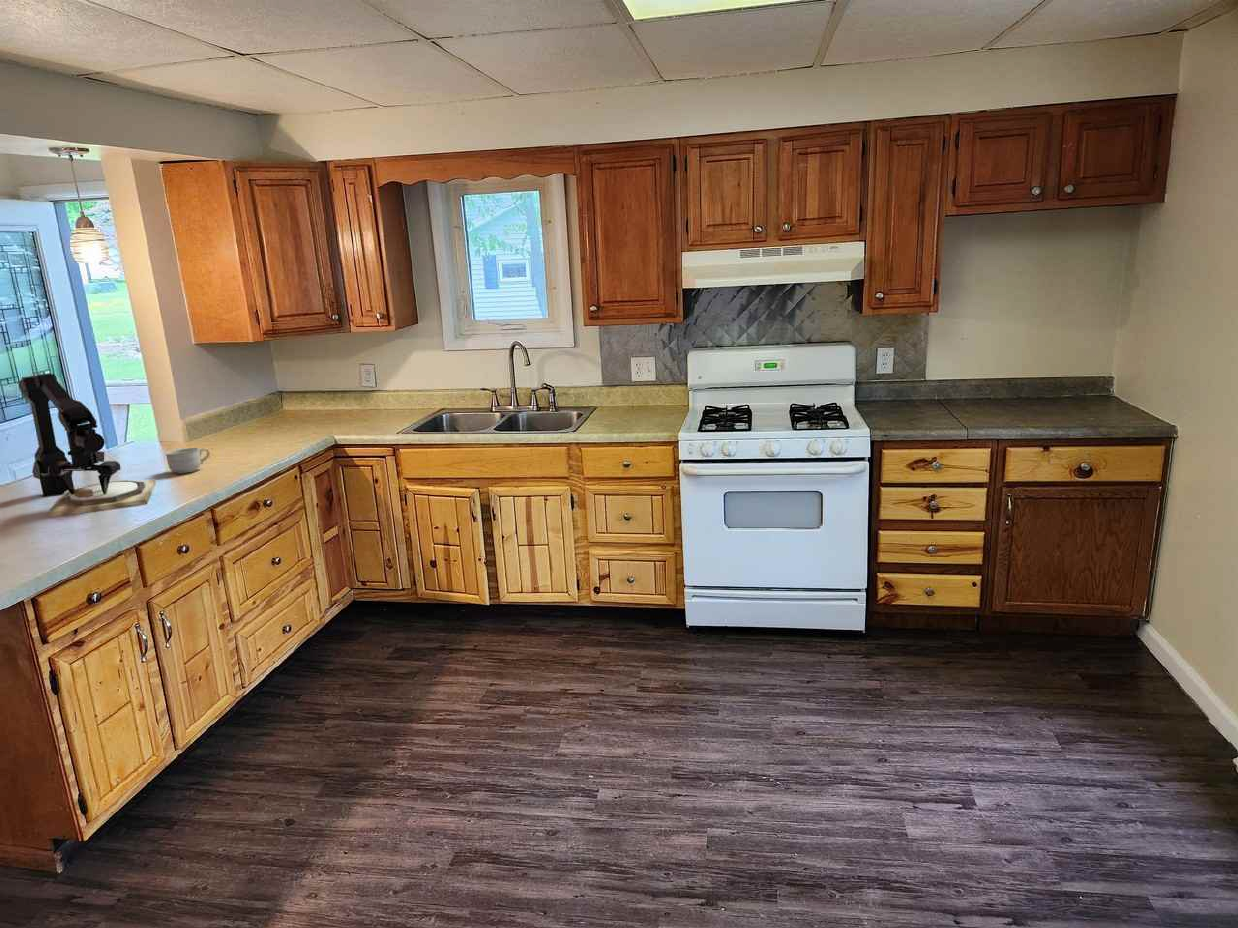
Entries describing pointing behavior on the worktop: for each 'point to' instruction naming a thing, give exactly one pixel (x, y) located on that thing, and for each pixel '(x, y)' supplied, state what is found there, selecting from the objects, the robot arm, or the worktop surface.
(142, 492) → the dial base
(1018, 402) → the worktop surface
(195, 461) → the teacup
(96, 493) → the dial
